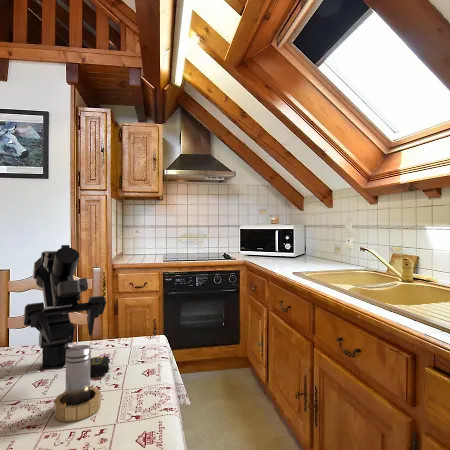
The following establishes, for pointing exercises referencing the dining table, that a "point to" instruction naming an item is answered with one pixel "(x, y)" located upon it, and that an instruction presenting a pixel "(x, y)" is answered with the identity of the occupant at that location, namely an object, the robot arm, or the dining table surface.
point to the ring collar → (77, 407)
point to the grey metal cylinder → (77, 375)
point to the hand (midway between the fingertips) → (71, 338)
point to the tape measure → (99, 365)
